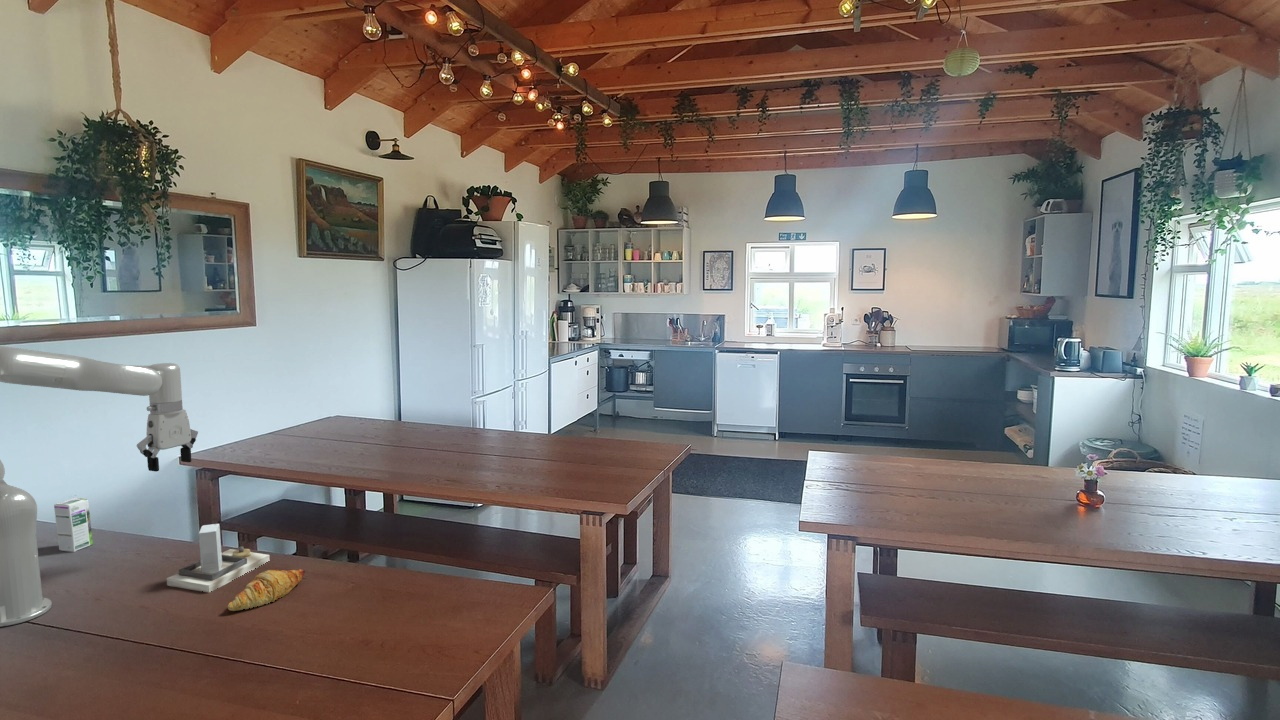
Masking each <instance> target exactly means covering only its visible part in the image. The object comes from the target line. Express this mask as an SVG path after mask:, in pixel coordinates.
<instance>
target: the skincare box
mask: <svg viewBox="0 0 1280 720" xmlns="http://www.w3.org/2000/svg"><path fill="white" fill-rule="evenodd" d="M198 541H199V542H198V543H199V556H200V557H199V558H200V559H199V560H201V572H203V573H209V574H213V573H216V572H218V571H220V569H221V566H222V553H223V552H222V543H221V542H222V541H221V526H220V523H212V524H204V525H202V526H201V527H200V529H199V532H198Z"/></svg>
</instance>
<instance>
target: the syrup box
mask: <svg viewBox="0 0 1280 720" xmlns="http://www.w3.org/2000/svg"><path fill="white" fill-rule="evenodd" d="M53 508H54V509H53V510H54V518H55V524H56V526H55V527H56V535H57V542H58V550H59V551H64V552H70V553H75V552H77V551H79V550H83V549H85V548H88V547H90V546H93V545H94V541H93V534H92V533H93V531H92V523H91V514H90V505H89V499H87V498H81V497H73V498H70V499H68V500H64V501H62V502H58V503H55V504H54V505H53Z"/></svg>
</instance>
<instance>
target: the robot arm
mask: <svg viewBox="0 0 1280 720" xmlns="http://www.w3.org/2000/svg"><path fill="white" fill-rule="evenodd" d="M181 379H182V378H181V367H180V366H179V365H178V364H176V363H172V362H169V363H167V362H165V363H164V362H162V363H154V364H149V365H135V364H134V365H131V364H130V365H126V364H119V363H113V362H109V361H108V362H107V361H102V360H97V359H94V358H93V359H92V358H90V357H89V358H88V357H84V356H83V357H82V356H78V355H77V356H76V355H72V354H71V355H69V354H62V353H57V352H49V351H47V352H46V351H39V350H33V349H26V348H18V347H10V346H3V345H0V383H5V384H10V385H12V384H13V385H22V386H30V387H32V386H34V387H41V388H43V387H44V388H53V389H60V390H64V389H65V390H71V391H72V390H73V391H80V392H81V391H82V392H102V393H111V394H121V395H122V394H123V395H129V396H130V395H131V396H132V395H133V396H140V397H142V396H143V397H146V396H148V398H149V399H148V400H149V406H147V407H146V410H147V411H148V412H149V413H148V414H147V415H148V416H147V420H146V421H147V422H146V437H145V438H143V439H142V440H140V441H139V442H138V443H137V444H136V447H137V449H138V451H139V452H140V454H142V455H143V456H144V457H145V458H146V459H147V460H146V461H147V469H148V471H150V472H154V473H155V472H159V471H160V465H159V463H160V462H159V457H158V454H159V453H160V451H161V450H162V451H163V450H168V449H172V448H175V447H176V448H177V447H181V448H180V449H179V450H180V461H181V462H183V463H184V462H185V463H192V449H193V448H194V447H193V446H194V443H195V442H196V441H197V437H198V434H199V431H198V430H195V429H191V426H190V425H191V424H190V419H189V416H188V413H187V410H186V409H185V408H184V409H183V394H182V393H183V392H182V391H183V390H182V380H181ZM147 448H148V449H147ZM5 470H6V469H5V466H4V463H3V462H2V460H1V459H0V627H7V626H12V625H18V624H21V623H24V622H28V621H30V620H33V619H35V618H38V617H41V616H42V615H44V614H45V613H47V612H49V610H51V608H52V606H53V603H52V599H50V598H48V597H43V592H42V591H43V590H42V589H43V588H42V581H41V571H40V561H39V551H38V543H37V521H38V505H37V501H36V500H35V498H34V497H33V495H32V494H31V493H29V492H28V491H27V490H24V489H22V488H19V487H17V486H14V485H9V484H7V482H6V481H5V480H4V478H5V474H6V473H5V472H6V471H5Z"/></svg>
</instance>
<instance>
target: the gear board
mask: <svg viewBox="0 0 1280 720" xmlns="http://www.w3.org/2000/svg"><path fill="white" fill-rule="evenodd" d="M221 553H222V566H221V569H220V571H218V572H216V573H213V574H209V573H203V572H201V559H199V560H198V561H195V562H193V563H191V564H189V565H186V566H184V567H182V568H180V569H178V573H175V574H173V575H171V576H168V577H167V578H166V585H167V586H169V587H172V588H174V587H175V588H179V589H185V590H192V591H198V592H202V591H203V593H212V592H214V591H216V590H217V588H218V589H220V588H221V587H223V586H225V585H227V584H229V583H231V582H233V581H235V580H237V579H239V578H241V577H242V575H243V576H245V575H246V574H245V573H247V572H248V573H250V572H252V571H254V570H256V569H259V568H260V567H262V566H264V565H266V564H267V563H266V562H268V561H271V560H270V559H271V558H270V554H265V553H259V552H253V551H251V549H250V548H244V546H242V545H241V546H239V547H238V549H232V548H230V549H227V550H225V551H223V552H221ZM265 563H266V564H265ZM268 563H269V562H268ZM263 564H264V565H263ZM261 565H262V566H261ZM259 566H260V567H259ZM255 568H256V569H255ZM251 570H252V571H251ZM249 571H250V572H249ZM248 573H247V574H248ZM244 574H245V575H244ZM240 576H241V577H240ZM238 577H239V578H238ZM236 578H237V579H236ZM234 579H235V580H234ZM232 580H233V581H232ZM211 591H212V592H211Z"/></svg>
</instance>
